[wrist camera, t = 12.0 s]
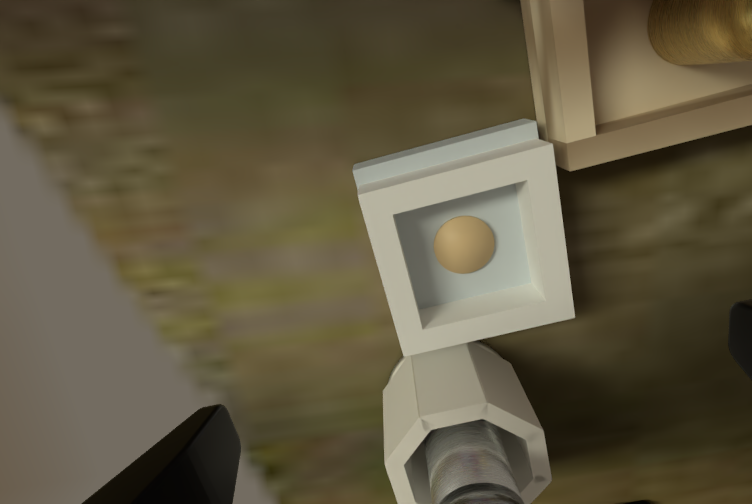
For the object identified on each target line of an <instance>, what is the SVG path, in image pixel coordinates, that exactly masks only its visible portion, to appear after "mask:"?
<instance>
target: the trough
mask: <svg viewBox="0 0 752 504" xmlns="http://www.w3.org/2000/svg"><path fill="white" fill-rule="evenodd" d="M520 2H521V9H522V16H523V23H524V31H525V38H526V45H527V52H528V60H529V67H530V74H531V81H532V89H533V96H534V103H535V110H536V117H537V125H538V132H539V139H540V140H543V141H546V142H549V143H552V144H553V149H554V157H555V165H556V166H558V167H561V168H563V169H565V170H568V171H574V170H578V169H582V168H586V167H590V166H593V165H597V164H601V163H605V162H609V161H613V160H617V159H621V158H625V157H628V156H632V155H636V154H640V153H644V152H648V151H652V150H656V149H660V148H663V147H667V146H671V145H675V144H679V143H683V142H687V141H691V140H695V139H698V138H702V137H706V136H710V135H714V134H718V133H722V132H726V131H730V130H733V129H737V128H741V127H745V126H749V125H752V61H742V62H728V63H713V64H699V65H684V66H682V65H675V64H671V63H669V62H666V61H665V60H663V59H662V58H660V57H659V56H658V55H657V54H656V52H655V51H654V49H653V48H652V46H651V43H650V41H649V37H648V31H647V22H648V15H649V11H650V8H651V5H652V2H653V0H520Z"/></svg>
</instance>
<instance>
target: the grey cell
mask: <svg viewBox="0 0 752 504" xmlns="http://www.w3.org/2000/svg"><path fill="white" fill-rule="evenodd" d="M424 447H425V455H426V462H427V469H428V477H429V484H430V491H431V499H432V504H524V502H523V500H522V497H521V494H520V491H519V489H518V486H517V483H516V480H515V477H514V475H513V472H512V469H511V466H510V463H509V461H508V458H507V455H506V452H505V449H504V446H503V444H502V441H501V438H500V435H499V432H498V430H497V427H496V425H495V424H493V423H491V422H489V421H487V420H485V419H480V420H475V421H470V422H466V423H461V424H456V425H452V426H447V427H442V428H437V429H433V430H430V432H429V433H428V434H427V436H426V437H425V438H424Z"/></svg>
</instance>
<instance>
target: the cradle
mask: <svg viewBox="0 0 752 504" xmlns="http://www.w3.org/2000/svg"><path fill="white" fill-rule="evenodd" d="M352 171H353V175H354V178H355V182H356V185H357V189H358V199H359V202H360V206H361V209H362V213H363V216H364V220H365V223H366V227H367V230H368V233H369V237H370V240H371V244H372V247H373V251H374V254H375V258H376V261H377V265H378V268H379V272H380V275H381V279H382V282H383V286H384V289H385V293H386V296H387V300H388V303H389V307H390V310H391V314H392V317H393V321H394V324H395V328H396V331H397V335H398V338H399V342H400V345H401V349H402V352H403V356H404V357H406V356H410V355H414V354H419V353H423V352H428V351H432V350H436V349H441V348H445V347H449V346H454V345H458V344H463V343H467V342H471V341H476V340H480V339H484V338H489V337H493V336H498V335H502V334H506V333H511V332H515V331H520V330H524V329H528V328H533V327H537V326H541V325H546V324H550V323H555V322H559V321H563V320H568V319H572V318H575V312H574V304H573V297H572V289H571V281H570V273H569V266H568V258H567V250H566V242H565V234H564V227H563V219H562V211H561V203H560V196H559V188H558V180H557V172H556V165H555V157H554V149H553V144H552V143H549V142H546V141H543V140H540V139H539V137H538V130H537V123H536V121H533V120H528V119H520V120H516V121H513V122H509V123H505V124H502V125H498V126H494V127H490V128H487V129H483V130H479V131H476V132H472V133H468V134H464V135H461V136H457V137H453V138H450V139H446V140H442V141H439V142H435V143H431V144H427V145H424V146H420V147H416V148H413V149H409V150H405V151H402V152H398V153H394V154H390V155H387V156H383V157H379V158H376V159H372V160H368V161H365V162H361V163H357V164H354V167H353V170H352Z"/></svg>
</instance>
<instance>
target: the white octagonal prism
mask: <svg viewBox="0 0 752 504" xmlns="http://www.w3.org/2000/svg"><path fill="white" fill-rule="evenodd" d="M383 418H384V460H385V467H386V470H387V473H388V476H389V479H390V482H391V485H392V487H393V490H394V493H395V496H396V499H397V502H398V504H432V499H431V491H430V484H429V477H428V469H427V462H426V455H425V447H424V438H425V437H426V436H427V434H428V433H429V432H430V430H433V429H437V428H442V427H447V426H452V425H456V424H461V423H466V422H470V421H475V420H480V419H485V420H487V421H489V422H491V423H493V424H495V425H496V427H497V430H498V432H499V435H500V438H501V441H502V444H503V446H504V449H505V452H506V455H507V458H508V461H509V463H510V466H511V469H512V472H513V475H514V477H515V480H516V483H517V486H518V489H519V491H520V494H521V497H522V500H523V502H524V504H531V503H532V502H533V501H534V499H535V498H536V497H537V496H538V495H539V494H540V493H541V492H542V491H543V490H544V489H545V488H546V487H547V486H548V484H549V483H550V482H551V480H552V476H551V471H550V465H549V459H548V453H547V448H546V442H545V436H544V431H543V429H542V427H541V425H540V422H539V420H538V418H537V416H536V414H535V412H534V410H533V408H532V406H531V404H530V402H529V400H528V398H527V396H526V394H525V392H524V390H523V388H522V386H521V384H520V382H519V379H518V377H517V375H516V373H515V371H514V369H513V367H512V365H511V364H510V362H508V361H506V360H504V359H503V358H502V357H501V356H500V355H499V354H498V353H497V352H496V351H494V350H493V349H492V348H490V347H489V346H487V345H486V344H484V343H481V342H479V341H471V342H467V343H463V344H458V345H454V346H449V347H445V348H441V349H436V350H432V351H428V352H423V353H419V354H414V355H410V356H406V357H404V356H403V357H402V358H401V359H400V360H399V361H398V363H397V364H396V365H395V367H394V369H393V370H392V372H391V375H390V377H389V381H388V385H387V386H386V387H385V389H384V390H383Z"/></svg>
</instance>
